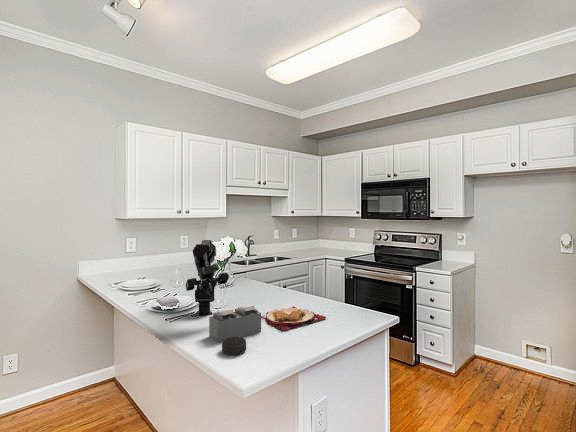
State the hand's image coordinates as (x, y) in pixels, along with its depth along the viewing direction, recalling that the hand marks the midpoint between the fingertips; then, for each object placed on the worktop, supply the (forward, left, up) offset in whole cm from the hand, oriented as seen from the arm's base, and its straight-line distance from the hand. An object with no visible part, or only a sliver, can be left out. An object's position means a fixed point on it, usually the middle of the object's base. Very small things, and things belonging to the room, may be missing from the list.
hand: (212, 297), depth 151 cm
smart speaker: (+26, +1, -14) cm, 30 cm away
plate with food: (+2, +36, -14) cm, 39 cm away
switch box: (+10, +7, -13) cm, 18 cm away
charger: (-39, -12, -14) cm, 43 cm away
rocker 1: (+11, +2, -4) cm, 12 cm away
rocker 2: (+10, +12, -4) cm, 16 cm away
